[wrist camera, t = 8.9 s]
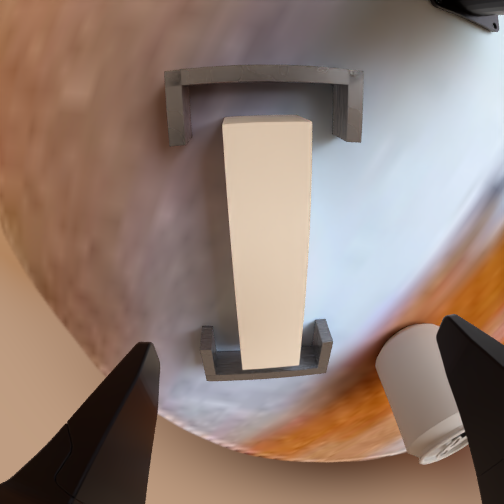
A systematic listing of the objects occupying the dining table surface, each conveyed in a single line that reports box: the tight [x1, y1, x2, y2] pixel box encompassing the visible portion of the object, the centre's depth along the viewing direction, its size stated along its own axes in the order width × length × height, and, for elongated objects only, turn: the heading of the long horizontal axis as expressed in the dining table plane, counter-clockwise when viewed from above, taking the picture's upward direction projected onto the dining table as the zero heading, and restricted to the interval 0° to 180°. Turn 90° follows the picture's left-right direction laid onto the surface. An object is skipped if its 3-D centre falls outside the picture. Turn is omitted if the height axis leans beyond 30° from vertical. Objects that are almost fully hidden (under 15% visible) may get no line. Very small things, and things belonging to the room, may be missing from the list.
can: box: [375, 324, 468, 464], centre depth 21 cm, size 8×8×12 cm
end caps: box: [164, 65, 363, 381], centre depth 19 cm, size 10×22×2 cm, turn 1°
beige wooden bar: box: [222, 115, 312, 370], centre depth 19 cm, size 4×16×4 cm, turn 2°
